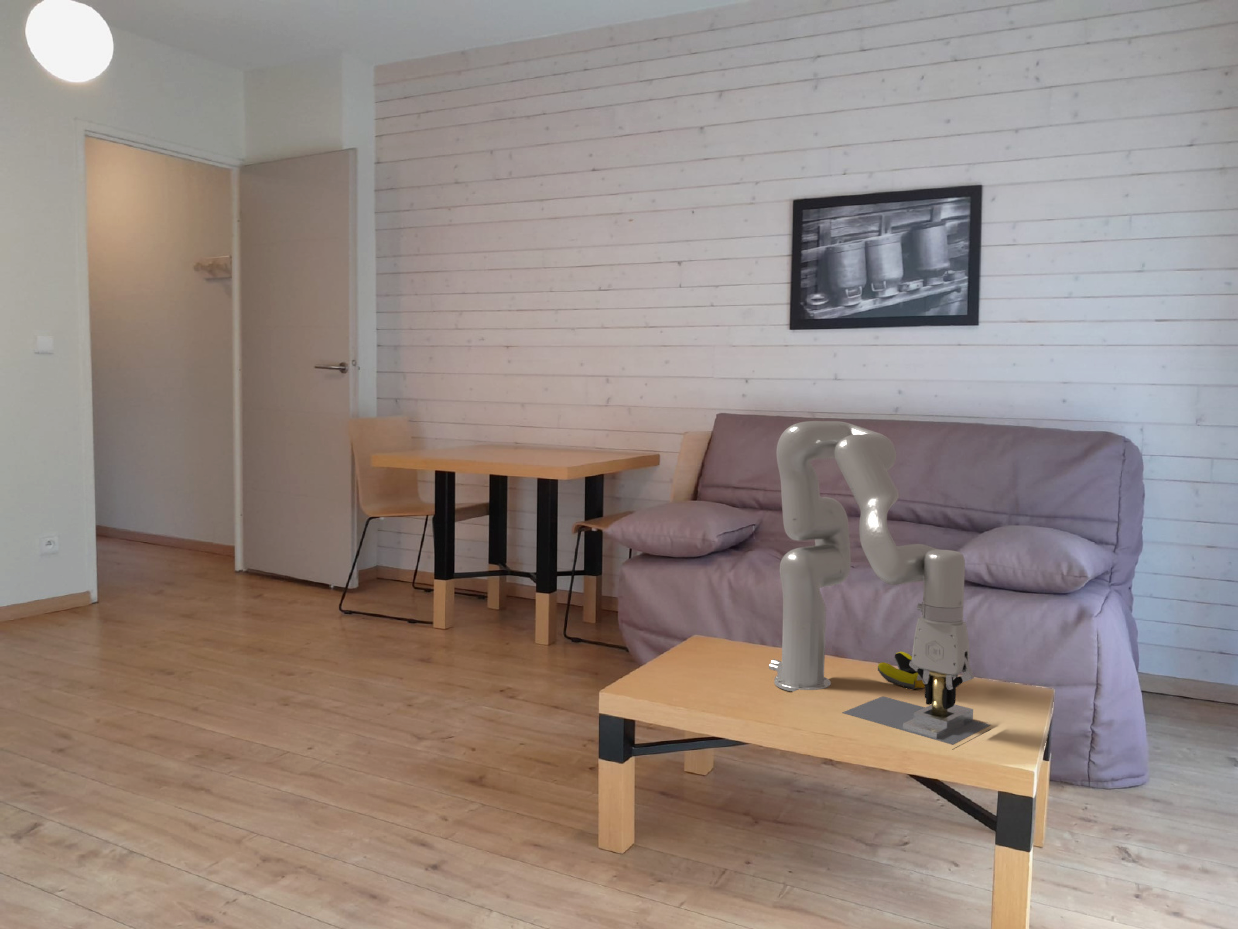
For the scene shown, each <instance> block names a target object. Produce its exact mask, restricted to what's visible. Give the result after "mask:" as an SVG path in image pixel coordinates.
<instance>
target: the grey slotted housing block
mask: <svg viewBox="0 0 1238 929" xmlns="http://www.w3.org/2000/svg"><path fill="white" fill-rule="evenodd" d="M931 711H932V704H930V705H927V706H925V708H923V709H921V710H919V711H916V712H914V717H913V719H911V720H909V721H907V722H905V723H903V729H904V730H907V731H911V732H914V733H918V734H921V735H925V736H928V737H932V738H935V739H937V738H939V737H941V736H943V735H945V734H947V733H949V732H951V731H953V730H955V729H957V728H959V727H961V726H963V725H966V724H968V723H970V722H972V721H973V720H974V708H971V707H966V706H962V705H959V704H956V703H955V704H954V706H953V707H951V708H949V709H948V713H947V717H946V718H940V717H937V716H933V715H931Z"/></svg>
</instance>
